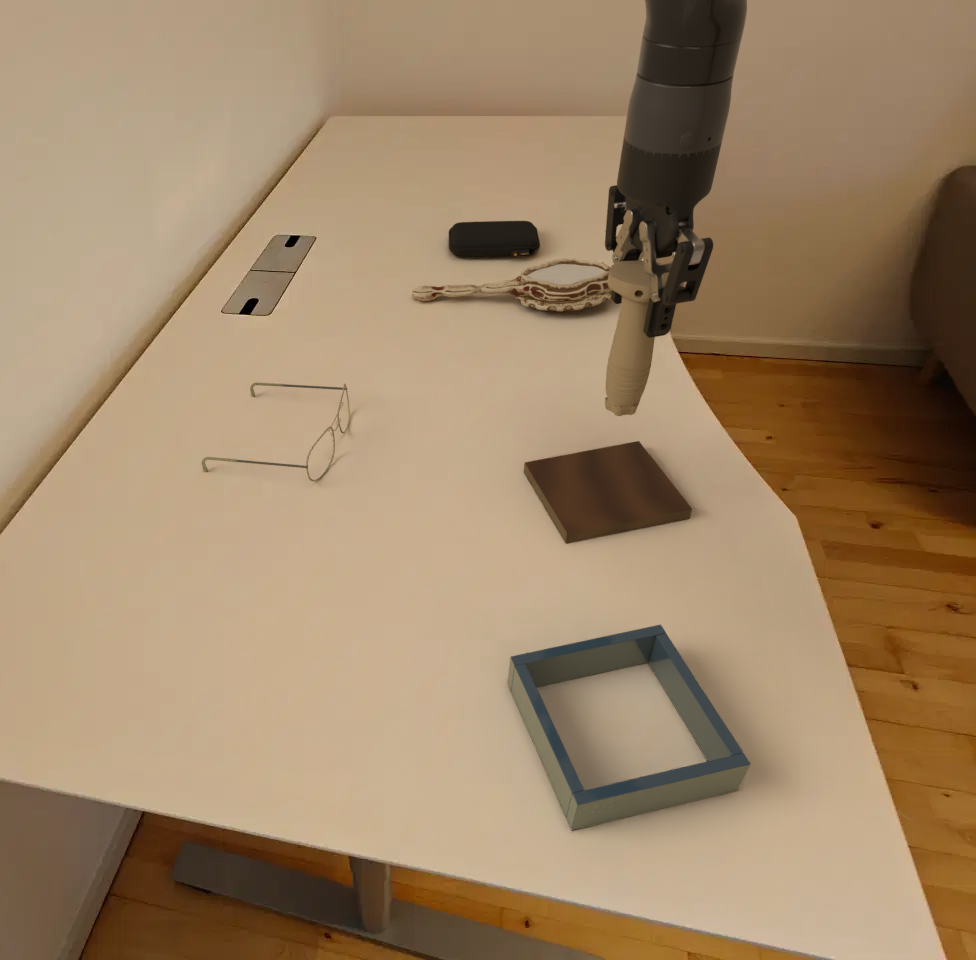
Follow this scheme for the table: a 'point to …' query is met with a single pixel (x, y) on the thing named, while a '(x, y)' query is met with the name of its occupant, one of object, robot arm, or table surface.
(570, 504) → the board
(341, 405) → the eyeglasses
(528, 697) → the blue square frame
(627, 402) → the handle
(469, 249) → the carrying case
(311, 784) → the table surface
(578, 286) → the hand mirror
